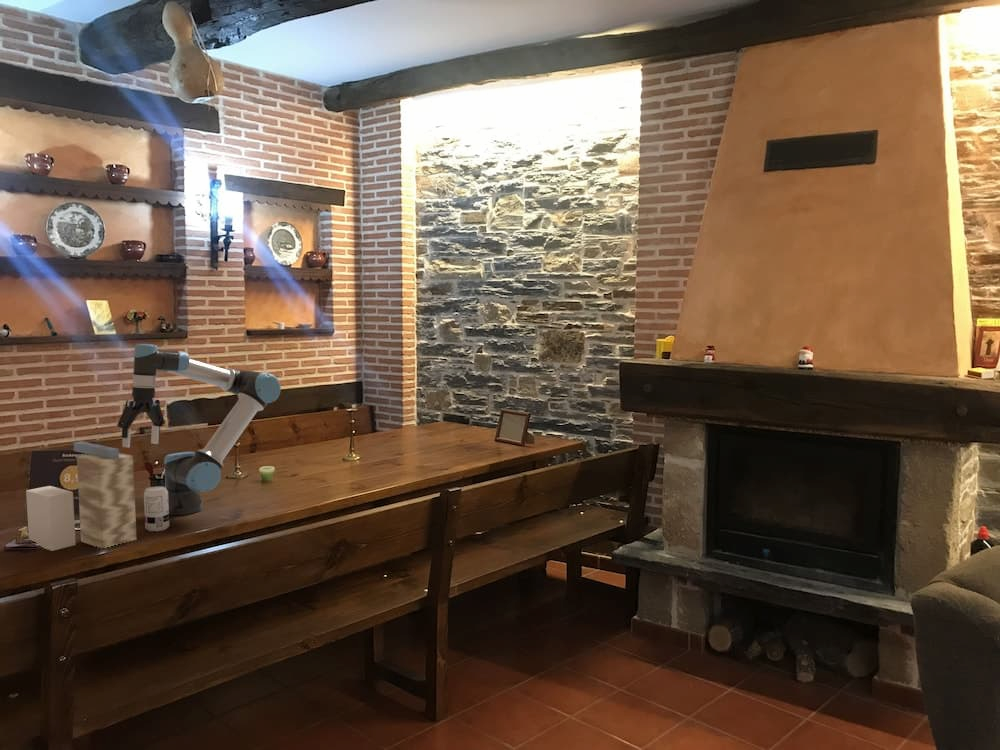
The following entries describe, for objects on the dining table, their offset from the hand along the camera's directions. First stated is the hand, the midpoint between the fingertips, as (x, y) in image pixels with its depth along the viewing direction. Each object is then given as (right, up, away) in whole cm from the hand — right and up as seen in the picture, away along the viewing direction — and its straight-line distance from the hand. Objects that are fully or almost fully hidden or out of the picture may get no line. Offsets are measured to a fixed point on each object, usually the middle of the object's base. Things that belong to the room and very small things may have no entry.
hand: (140, 445), depth 292 cm
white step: (-24, -33, -14) cm, 43 cm away
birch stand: (-6, -32, -10) cm, 35 cm away
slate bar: (-11, -2, -11) cm, 15 cm away
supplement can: (+4, -31, +4) cm, 32 cm away
